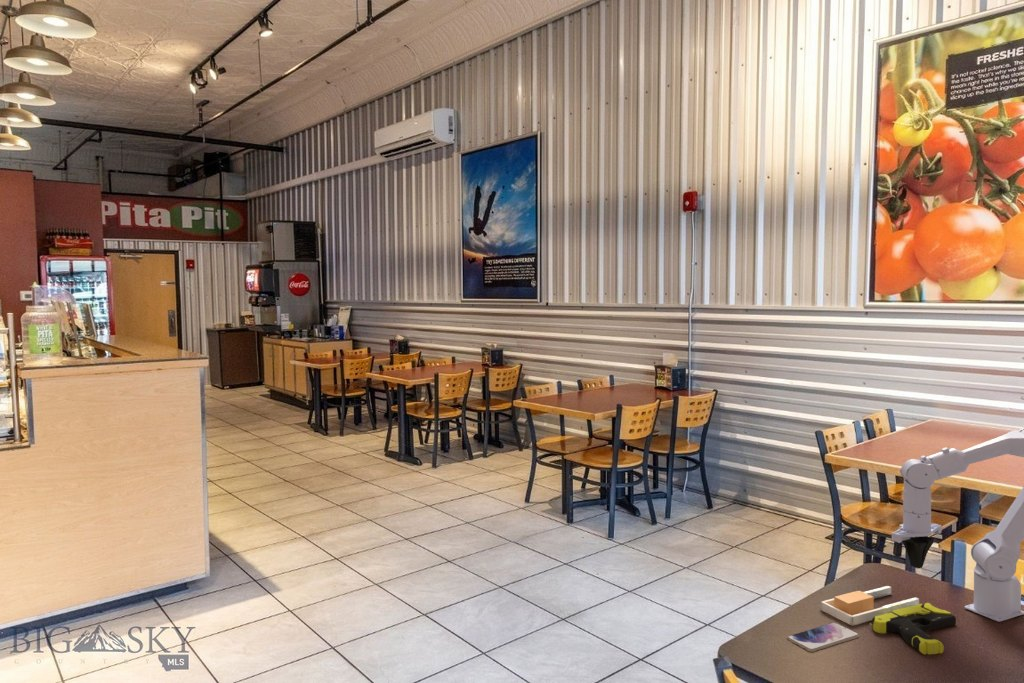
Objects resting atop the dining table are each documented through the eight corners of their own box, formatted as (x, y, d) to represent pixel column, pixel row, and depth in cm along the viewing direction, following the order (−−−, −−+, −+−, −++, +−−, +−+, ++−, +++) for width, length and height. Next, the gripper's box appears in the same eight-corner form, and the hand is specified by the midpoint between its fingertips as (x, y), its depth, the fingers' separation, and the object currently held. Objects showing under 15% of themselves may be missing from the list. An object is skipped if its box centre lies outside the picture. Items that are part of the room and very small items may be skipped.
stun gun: (990, 629, 146) (926, 600, 160) (925, 646, 139) (864, 615, 153) (990, 642, 146) (925, 612, 160) (925, 660, 139) (864, 627, 153)
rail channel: (887, 592, 170) (887, 585, 170) (919, 606, 162) (919, 598, 162) (855, 601, 166) (855, 594, 166) (886, 615, 158) (886, 608, 158)
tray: (853, 601, 166) (853, 593, 166) (885, 616, 158) (885, 607, 158) (820, 609, 162) (820, 601, 162) (852, 625, 154) (852, 617, 154)
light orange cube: (859, 606, 163) (859, 590, 163) (873, 613, 160) (873, 596, 159) (846, 609, 162) (846, 593, 161) (861, 616, 158) (861, 600, 158)
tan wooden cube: (846, 609, 162) (846, 593, 162) (861, 616, 158) (861, 600, 158) (834, 613, 160) (834, 596, 160) (848, 620, 157) (848, 603, 156)
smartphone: (784, 636, 149) (834, 621, 155) (785, 640, 149) (834, 625, 155) (811, 650, 143) (861, 634, 149) (811, 654, 143) (861, 638, 149)
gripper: (922, 502, 168) (921, 555, 169) (880, 510, 163) (880, 566, 163) (950, 509, 162) (949, 565, 162) (907, 518, 156) (907, 576, 157)
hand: (916, 566), depth 162 cm, fingers closed
